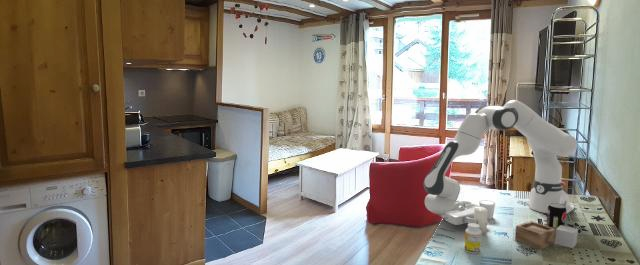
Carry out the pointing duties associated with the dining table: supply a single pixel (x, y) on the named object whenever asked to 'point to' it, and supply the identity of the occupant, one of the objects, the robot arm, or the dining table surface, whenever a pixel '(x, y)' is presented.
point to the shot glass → (488, 207)
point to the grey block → (566, 236)
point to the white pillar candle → (481, 219)
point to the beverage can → (556, 215)
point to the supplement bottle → (473, 238)
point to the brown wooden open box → (535, 234)
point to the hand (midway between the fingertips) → (482, 220)
